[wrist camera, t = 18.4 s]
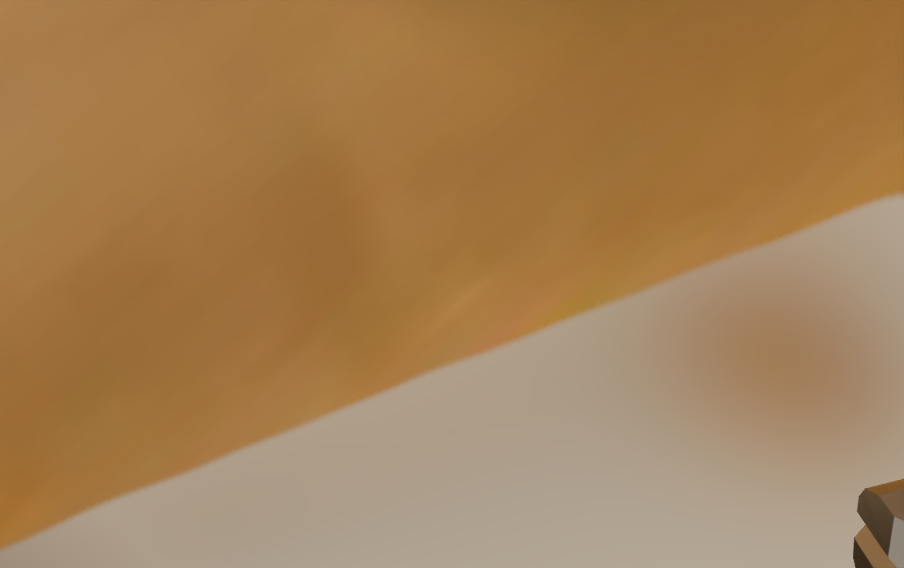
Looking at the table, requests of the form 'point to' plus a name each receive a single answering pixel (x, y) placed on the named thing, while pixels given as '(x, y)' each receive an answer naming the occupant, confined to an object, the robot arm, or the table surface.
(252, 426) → the table surface
